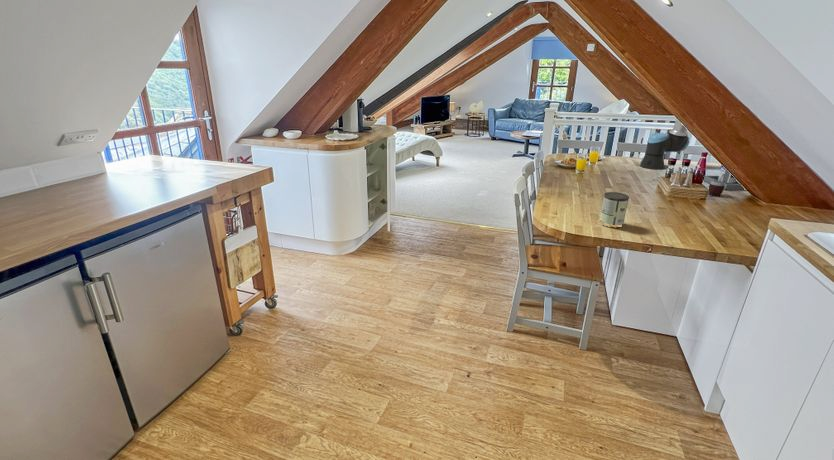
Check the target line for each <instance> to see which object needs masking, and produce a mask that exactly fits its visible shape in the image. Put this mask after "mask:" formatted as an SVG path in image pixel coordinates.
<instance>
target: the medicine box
mask: <svg viewBox="0 0 834 460" xmlns="http://www.w3.org/2000/svg"><path fill="white" fill-rule="evenodd" d="M726 172H727V173H726ZM724 173H726V174H724ZM723 174H724V176H723V177H722V175H723ZM729 175H730V173H729V172H728V171H727V170H726V169H725V168H724V167H721V168H720V171H719V175H718V176H719V178H718V181H719V180H720V178H721V177H722V179H721V181H722V182H724V183H727V181H728V178H729ZM735 182H736V179H735V178H734V179H733V182H732V183H735Z"/></svg>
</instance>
